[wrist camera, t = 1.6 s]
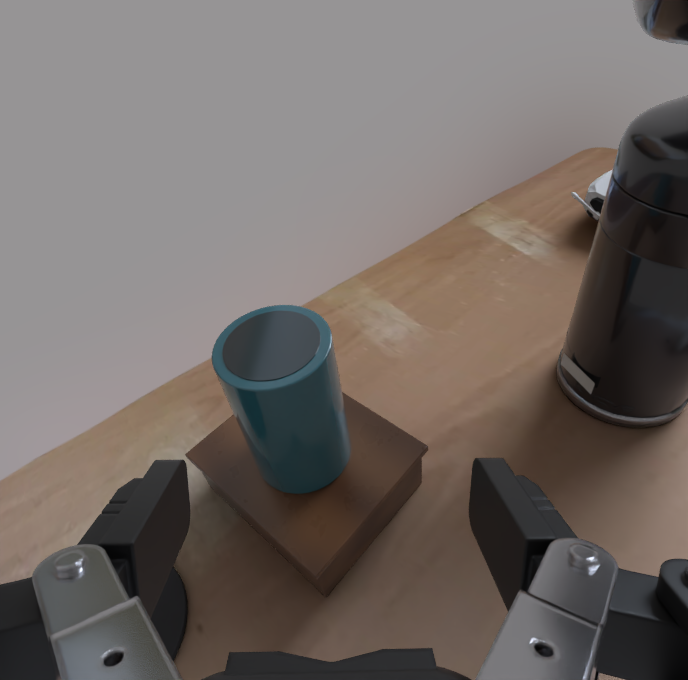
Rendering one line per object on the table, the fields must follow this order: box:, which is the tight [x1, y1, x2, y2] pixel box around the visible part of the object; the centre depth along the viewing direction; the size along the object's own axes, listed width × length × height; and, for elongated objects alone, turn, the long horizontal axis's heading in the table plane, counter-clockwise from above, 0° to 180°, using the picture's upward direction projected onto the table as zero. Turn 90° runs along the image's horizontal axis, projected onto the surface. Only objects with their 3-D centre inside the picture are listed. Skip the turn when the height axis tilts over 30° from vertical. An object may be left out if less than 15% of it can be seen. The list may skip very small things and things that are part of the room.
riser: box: [186, 392, 428, 597], centre depth 34 cm, size 11×13×4 cm
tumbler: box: [212, 305, 351, 494], centre depth 29 cm, size 6×6×10 cm
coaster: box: [150, 567, 187, 661], centre depth 30 cm, size 10×10×1 cm
